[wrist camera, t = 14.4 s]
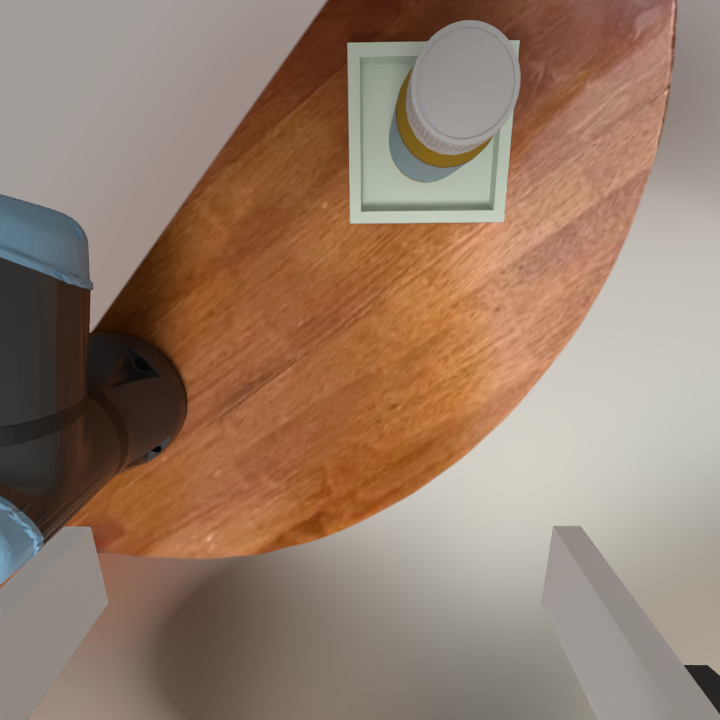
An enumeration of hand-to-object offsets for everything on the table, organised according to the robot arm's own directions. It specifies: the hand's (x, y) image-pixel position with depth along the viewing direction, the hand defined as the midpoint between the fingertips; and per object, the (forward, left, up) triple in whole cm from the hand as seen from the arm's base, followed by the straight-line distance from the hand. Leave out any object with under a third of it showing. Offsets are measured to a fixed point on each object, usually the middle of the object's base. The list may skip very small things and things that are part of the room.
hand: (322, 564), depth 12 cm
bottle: (+7, +17, -32) cm, 37 cm away
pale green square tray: (+7, +17, -33) cm, 38 cm away
